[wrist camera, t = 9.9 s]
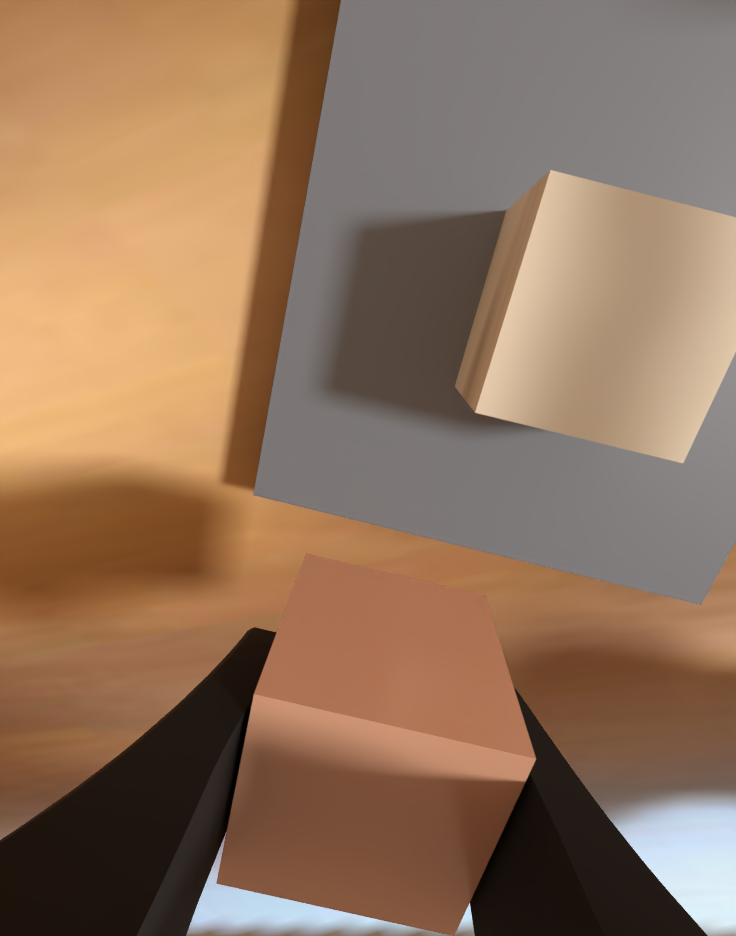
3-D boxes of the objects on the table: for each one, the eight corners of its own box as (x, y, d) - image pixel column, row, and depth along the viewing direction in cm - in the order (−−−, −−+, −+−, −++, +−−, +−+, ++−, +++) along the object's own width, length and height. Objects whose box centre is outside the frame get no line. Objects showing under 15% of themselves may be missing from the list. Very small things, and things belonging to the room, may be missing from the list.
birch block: (679, 254, 13) (793, 231, 10) (609, 424, 15) (682, 463, 11) (506, 210, 13) (550, 169, 9) (454, 386, 15) (475, 412, 11)
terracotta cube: (485, 595, 10) (536, 759, 7) (435, 733, 12) (453, 936, 8) (305, 553, 10) (253, 694, 7) (275, 696, 12) (216, 883, 8)
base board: (934, 87, 13) (1000, 59, 12) (676, 581, 18) (701, 604, 17) (365, -70, 13) (361, -117, 11) (264, 480, 18) (253, 494, 16)
